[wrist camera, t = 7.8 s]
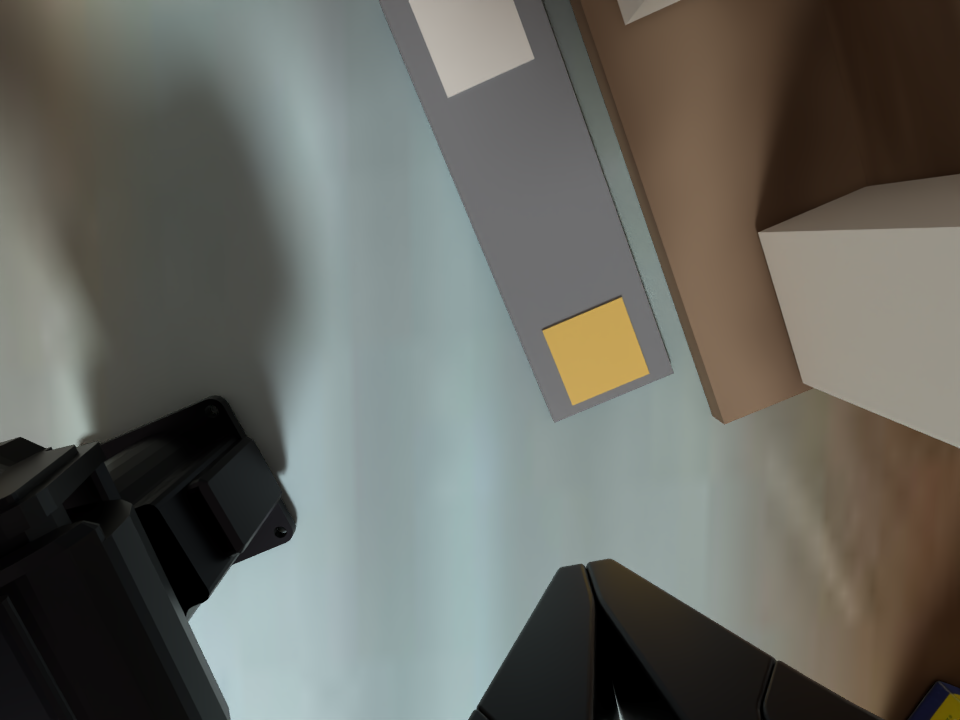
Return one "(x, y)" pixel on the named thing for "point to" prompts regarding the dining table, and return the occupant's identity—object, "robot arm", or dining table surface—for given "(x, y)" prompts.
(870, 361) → the grey lidded cream box
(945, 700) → the supplement box
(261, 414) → the dining table surface
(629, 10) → the key
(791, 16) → the key panel
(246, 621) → the dining table surface
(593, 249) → the pattern card
